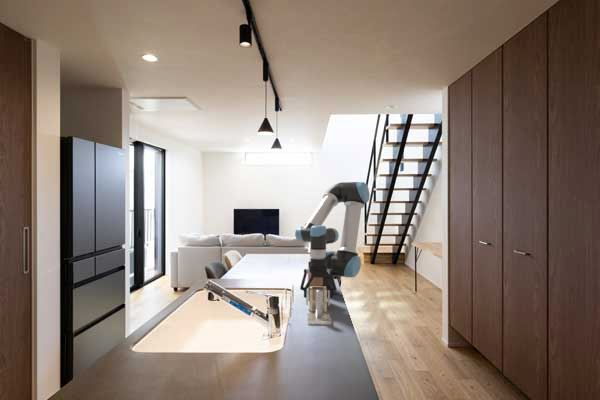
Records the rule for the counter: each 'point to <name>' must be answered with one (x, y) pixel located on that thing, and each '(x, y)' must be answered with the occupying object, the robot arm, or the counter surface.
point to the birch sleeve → (313, 298)
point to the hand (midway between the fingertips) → (317, 304)
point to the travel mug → (314, 281)
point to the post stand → (319, 312)
